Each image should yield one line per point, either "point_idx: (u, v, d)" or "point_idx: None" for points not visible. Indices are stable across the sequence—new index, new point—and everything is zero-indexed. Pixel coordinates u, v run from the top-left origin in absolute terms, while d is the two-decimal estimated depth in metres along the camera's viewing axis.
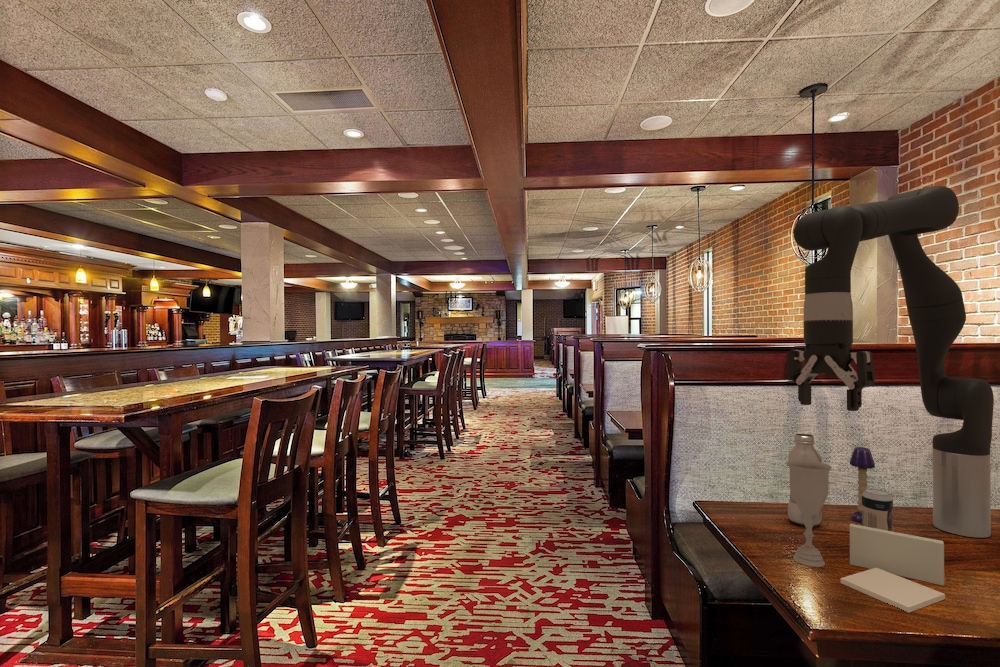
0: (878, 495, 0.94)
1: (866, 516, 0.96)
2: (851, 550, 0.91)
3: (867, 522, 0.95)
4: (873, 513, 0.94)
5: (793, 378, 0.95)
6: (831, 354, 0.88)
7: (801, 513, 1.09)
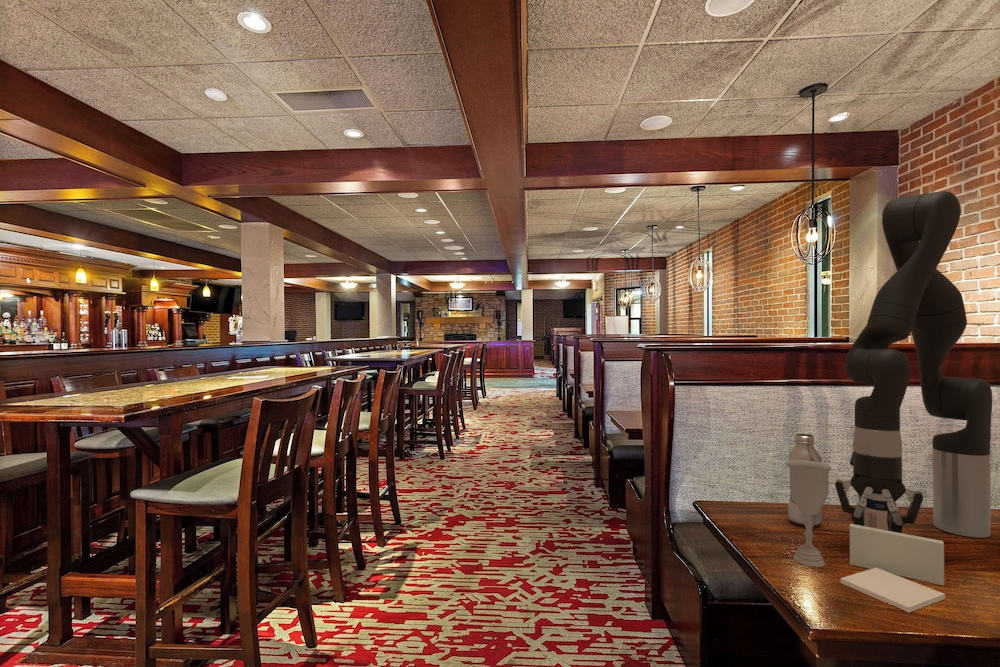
0: (878, 495, 0.94)
1: (866, 516, 0.96)
2: (851, 550, 0.91)
3: (867, 522, 0.95)
4: (873, 513, 0.94)
5: None
6: None
7: (801, 513, 1.09)
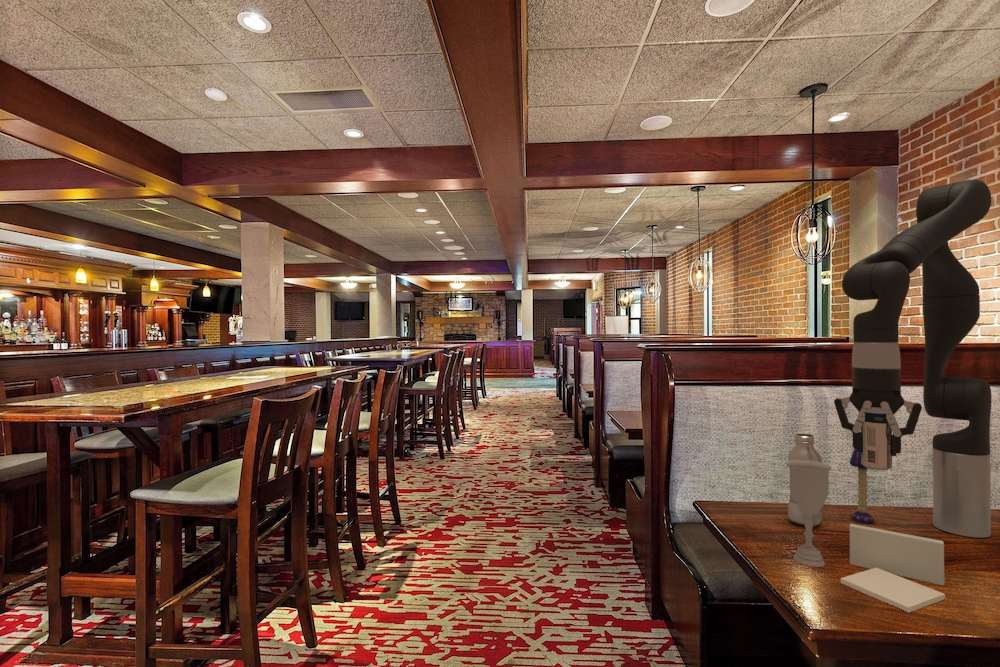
0: (877, 408, 0.94)
1: (865, 430, 0.96)
2: (851, 550, 0.91)
3: (866, 436, 0.96)
4: (872, 426, 0.95)
5: None
6: None
7: (801, 513, 1.09)
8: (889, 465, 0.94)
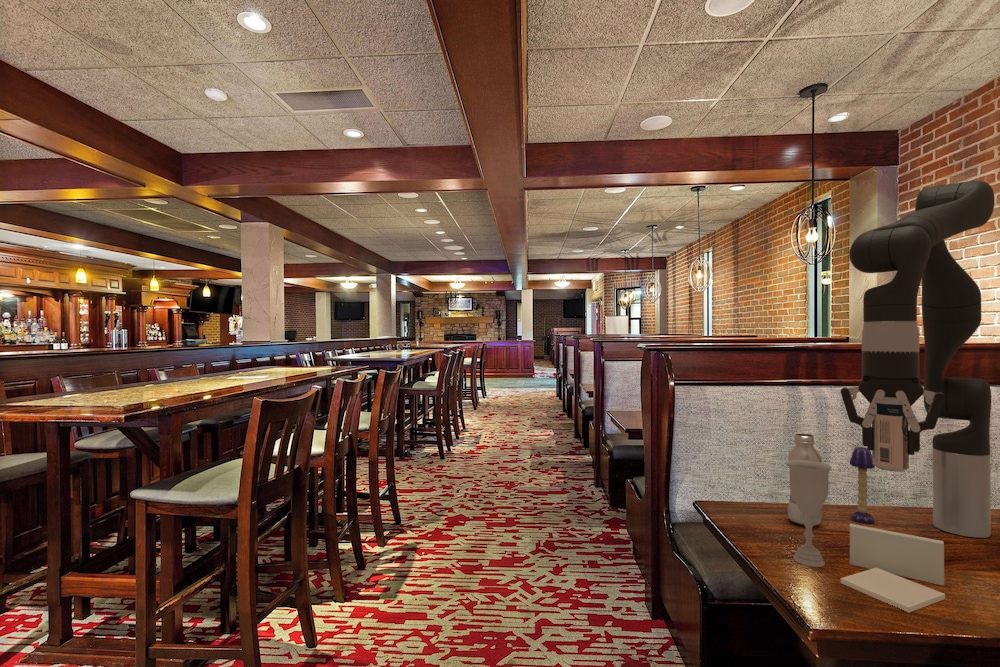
0: (891, 398, 0.80)
1: (877, 424, 0.82)
2: (851, 550, 0.91)
3: (879, 431, 0.81)
4: (886, 420, 0.81)
5: None
6: None
7: (801, 513, 1.09)
8: (906, 465, 0.80)
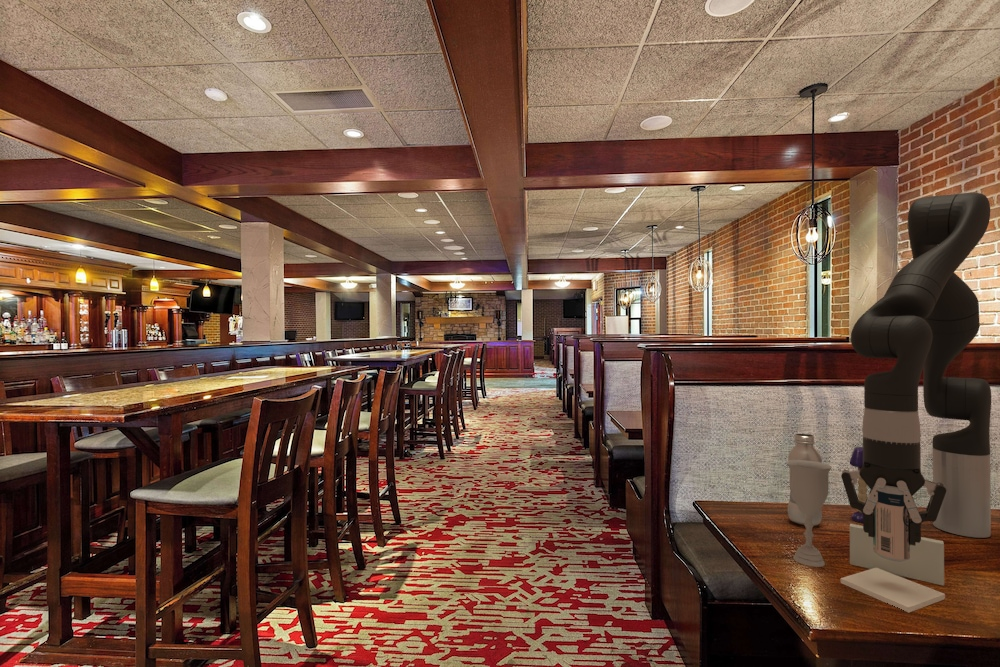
0: (892, 488, 0.80)
1: (878, 512, 0.81)
2: (851, 550, 0.91)
3: (880, 520, 0.81)
4: (887, 509, 0.80)
5: None
6: None
7: (801, 513, 1.09)
8: (907, 556, 0.79)
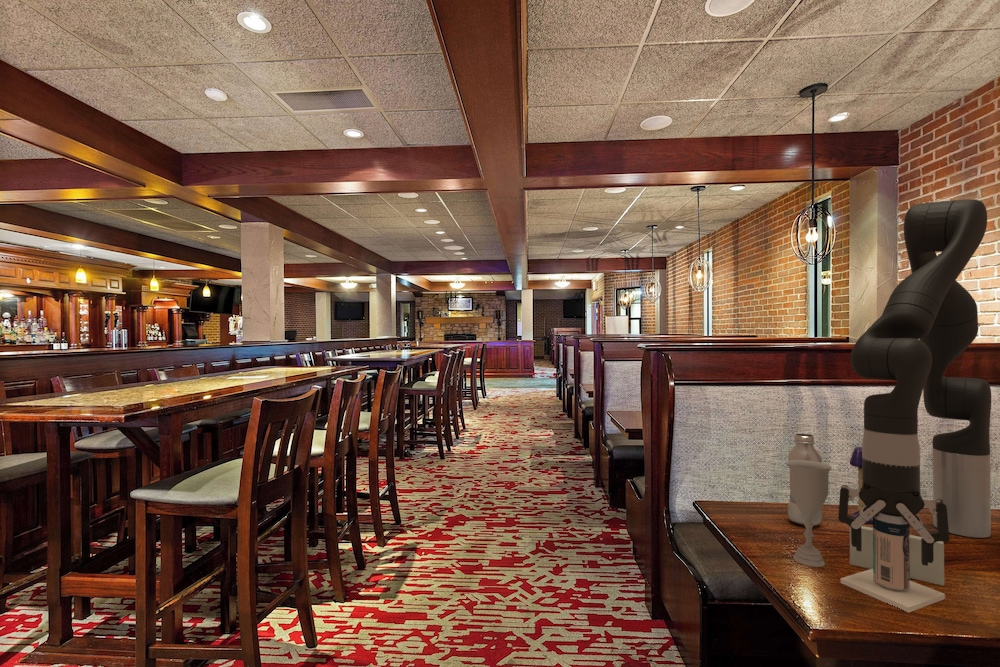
0: (892, 517, 0.80)
1: (878, 541, 0.82)
2: (851, 550, 0.91)
3: (880, 549, 0.81)
4: (886, 538, 0.80)
5: None
6: None
7: (801, 513, 1.09)
8: (906, 585, 0.80)
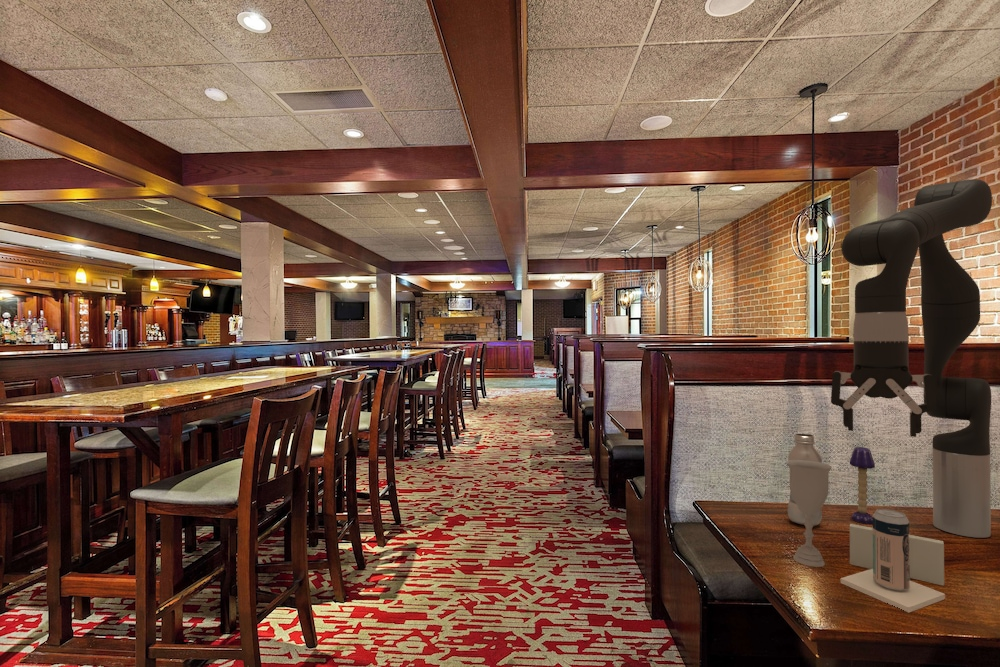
0: (892, 517, 0.80)
1: (878, 541, 0.82)
2: (851, 550, 0.91)
3: (879, 549, 0.81)
4: (886, 539, 0.80)
5: None
6: None
7: (801, 513, 1.09)
8: (906, 585, 0.80)
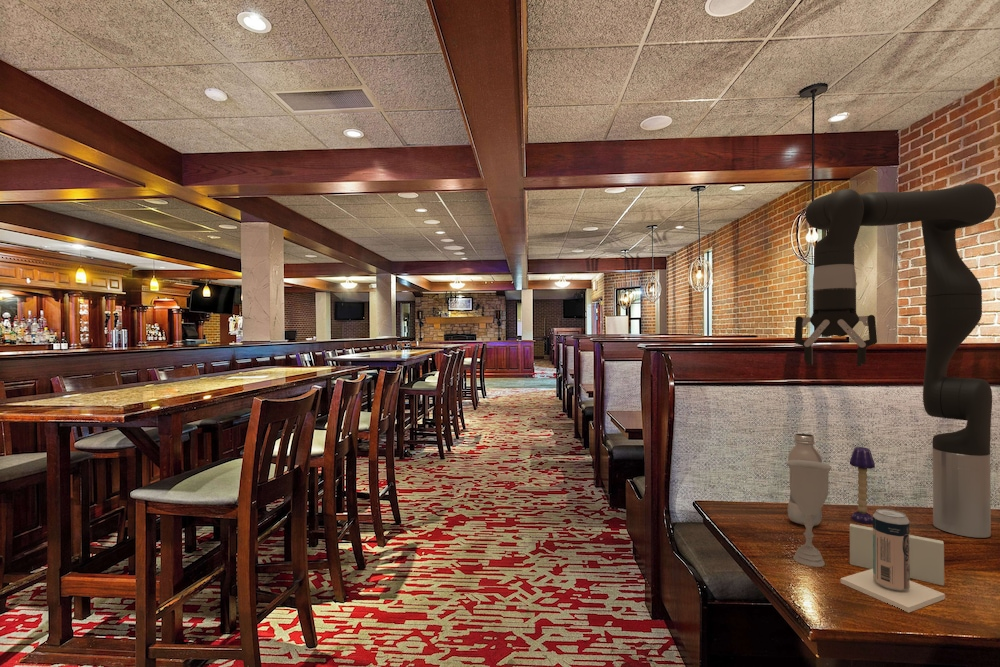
0: (892, 517, 0.80)
1: (878, 541, 0.82)
2: (851, 550, 0.91)
3: (879, 549, 0.81)
4: (886, 539, 0.80)
5: None
6: None
7: (801, 513, 1.09)
8: (906, 585, 0.80)
